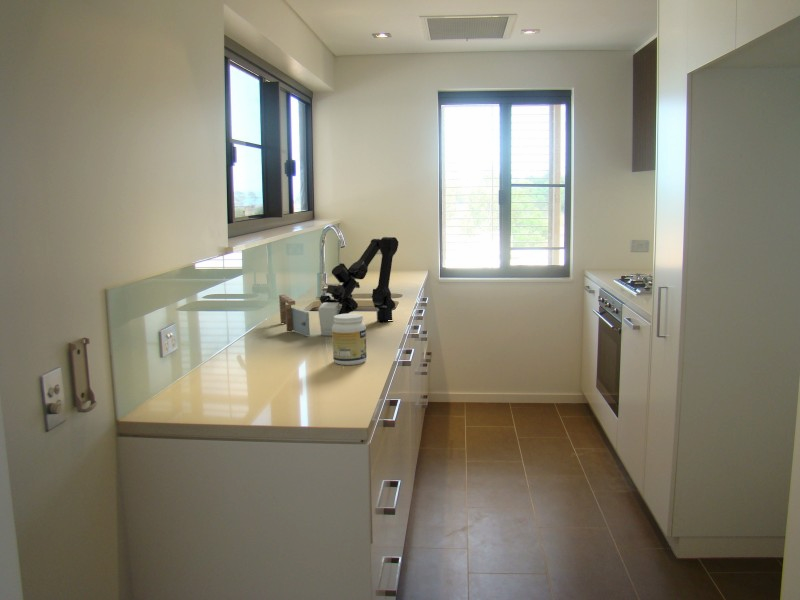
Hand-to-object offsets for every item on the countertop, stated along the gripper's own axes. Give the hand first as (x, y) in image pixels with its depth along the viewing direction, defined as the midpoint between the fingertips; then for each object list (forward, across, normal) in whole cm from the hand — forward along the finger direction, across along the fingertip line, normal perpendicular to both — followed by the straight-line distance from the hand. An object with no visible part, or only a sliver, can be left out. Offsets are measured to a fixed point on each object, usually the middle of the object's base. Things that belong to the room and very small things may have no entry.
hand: (329, 317), depth 299 cm
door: (+9, -13, +1) cm, 16 cm away
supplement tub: (+27, +40, -14) cm, 50 cm away
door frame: (+4, -29, +6) cm, 30 cm away
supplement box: (+4, 0, +6) cm, 7 cm away
